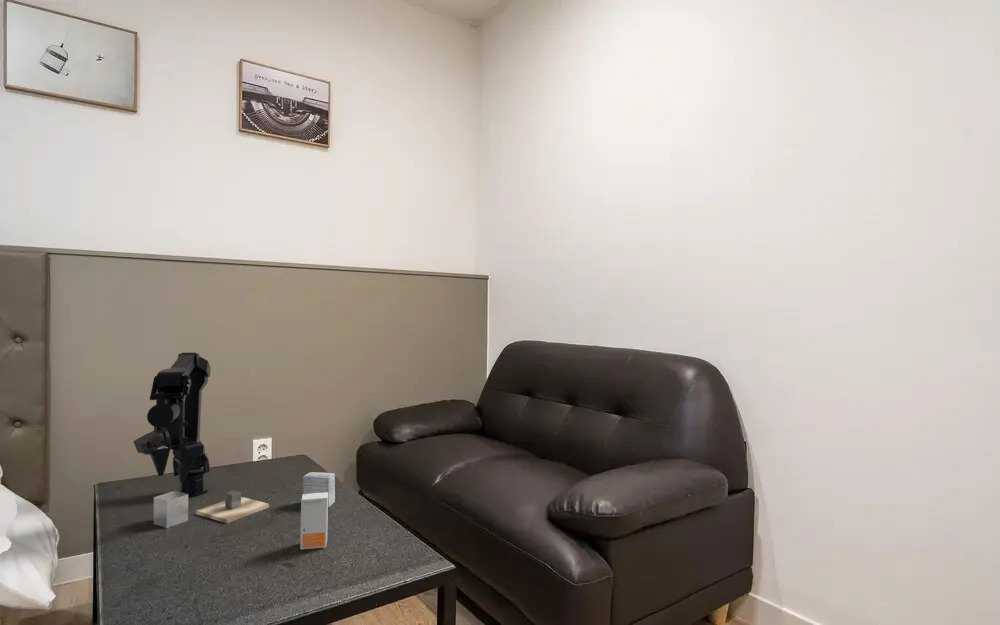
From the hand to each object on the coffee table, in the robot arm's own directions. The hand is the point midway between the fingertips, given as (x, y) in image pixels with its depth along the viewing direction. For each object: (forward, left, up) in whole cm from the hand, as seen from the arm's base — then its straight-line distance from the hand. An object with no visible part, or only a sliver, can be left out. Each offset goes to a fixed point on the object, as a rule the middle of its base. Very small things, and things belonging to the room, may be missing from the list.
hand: (171, 478), depth 142 cm
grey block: (0, 0, -12) cm, 12 cm away
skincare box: (+43, +8, -12) cm, 45 cm away
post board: (+7, +13, -12) cm, 19 cm away
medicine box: (+24, +28, -12) cm, 39 cm away
